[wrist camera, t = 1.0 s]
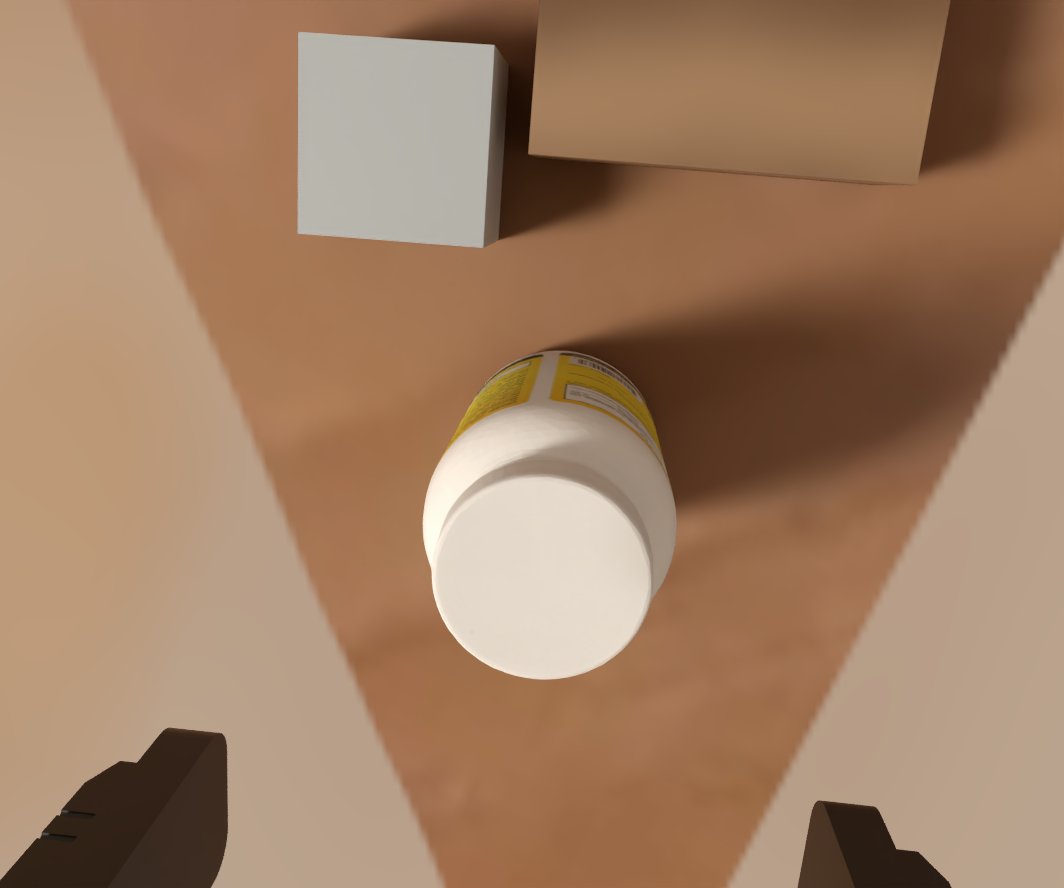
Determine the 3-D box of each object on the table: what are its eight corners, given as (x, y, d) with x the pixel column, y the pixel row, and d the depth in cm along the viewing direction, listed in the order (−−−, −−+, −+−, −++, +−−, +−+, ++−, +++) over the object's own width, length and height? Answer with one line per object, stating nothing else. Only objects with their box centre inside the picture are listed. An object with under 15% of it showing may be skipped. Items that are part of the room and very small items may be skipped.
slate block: (340, 54, 28) (298, 31, 24) (509, 65, 27) (494, 45, 24) (337, 227, 29) (297, 233, 25) (499, 239, 29) (483, 247, 25)
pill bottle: (474, 537, 31) (409, 719, 21) (455, 354, 30) (374, 447, 19) (661, 528, 31) (695, 709, 20) (653, 340, 29) (684, 429, 18)
